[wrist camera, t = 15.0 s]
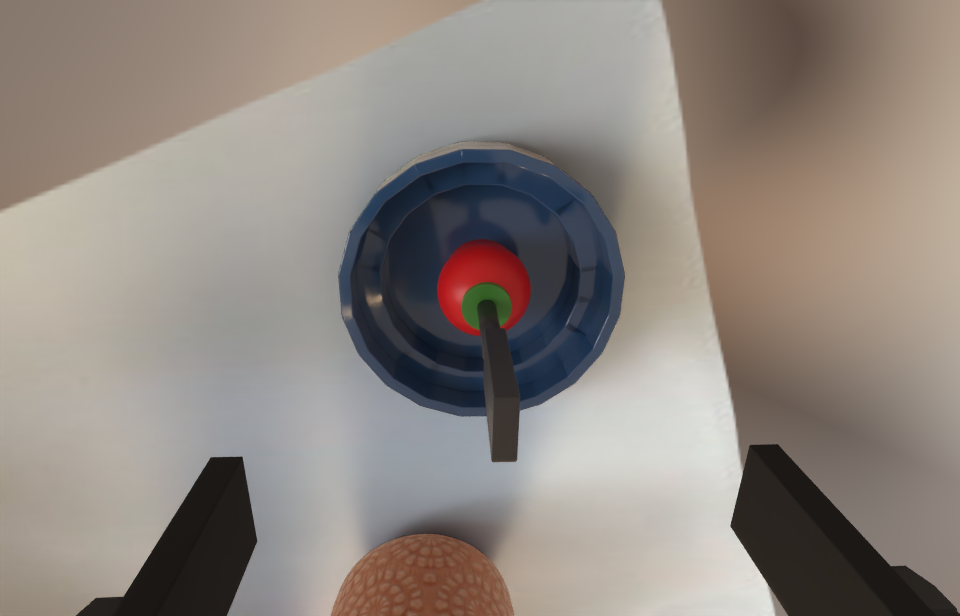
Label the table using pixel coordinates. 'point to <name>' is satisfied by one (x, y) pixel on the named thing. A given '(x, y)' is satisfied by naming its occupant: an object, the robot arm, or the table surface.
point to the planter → (424, 581)
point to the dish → (432, 240)
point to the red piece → (489, 327)
